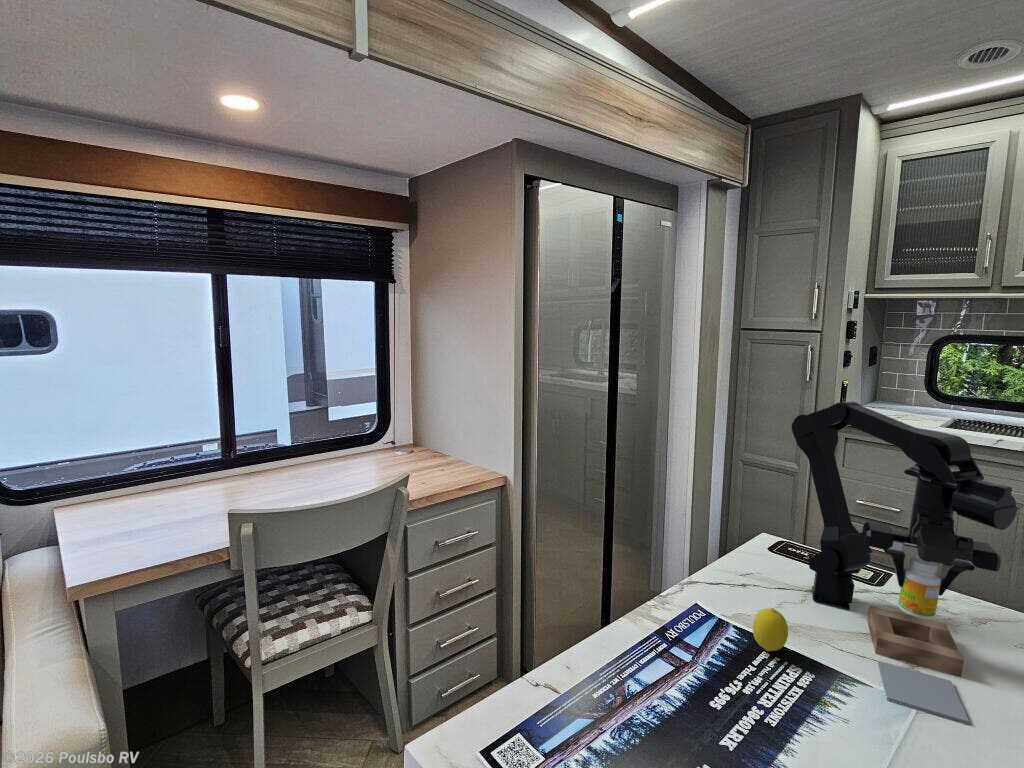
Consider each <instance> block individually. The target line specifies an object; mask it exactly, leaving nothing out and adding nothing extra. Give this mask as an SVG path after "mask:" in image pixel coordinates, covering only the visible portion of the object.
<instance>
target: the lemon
mask: <svg viewBox="0 0 1024 768" xmlns="http://www.w3.org/2000/svg"><path fill="white" fill-rule="evenodd" d="M752 635H753V638H754V640H755V641H756V643H757V644H758V645H759V646H760V647H761V648H762V649H764V650H765V651H766V652H769V653H770V652H776V651H779V650H781V649H782V648H783V647H784V646H785V645H786V644H787V641H788V637H789V627H788V622H787V620H786V618H785V617H784V615H783V614H782V613H781V612H779V610H776V609H775V608H773V607H770V608H763V609H761V610H760V611H758V612H757V613H756V615H755V617H754V619H753V623H752Z"/></svg>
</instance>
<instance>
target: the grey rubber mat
mask: <svg viewBox="0 0 1024 768" xmlns="http://www.w3.org/2000/svg"><path fill="white" fill-rule="evenodd" d="M877 664H878V669H879V673H880V677H881V682H882V685H883V690H884V689H885V690H884V693H885V692H886V694H885V697H886V696H887V698H886V700H887V699H889V700H891V701H890V702H892V701H894V702H893V703H895V702H897V703H896V704H898V703H901V704H904V705H903V706H905V705H906V707H908V706H910V707H909V708H911V707H913V709H915V710H918V711H922V712H925V713H928V714H932V715H935V716H939V717H941V718H946V719H948V720H952V721H954V722H955V721H956V722H959V723H962V724H965V725H969V723H970V721H969V718H968V716H967V714H966V712H965V710H964V707H963V704H962V702H961V700H960V698H959V696H958V693H957V691H956V689H955V685H953V681H952V680H950V679H946V678H942V677H939V676H935V675H932V674H927V673H924V672H920V671H918V670H914V669H910V668H908V667H903V666H899V665H896V664H892V663H888V662H885V661H880V660H878V661H877ZM901 704H900V705H901Z"/></svg>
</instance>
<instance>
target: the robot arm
mask: <svg viewBox="0 0 1024 768" xmlns="http://www.w3.org/2000/svg"><path fill="white" fill-rule="evenodd" d="M849 426H850V427H852V428H855V429H857V430H859V431H861V432H863V433H864V434H865V433H866V434H868V435H870V436H872V437H875V438H877V439H879V440H881V441H882V442H885V443H888V444H890V445H892V446H895V447H896V448H897V449H899V450H901V451H902V452H903V453H904V455H905V456H906V457H907V458H908V459H910V460H911V461H913V462H914V463H915V464H914V465H913V466H911V467H909V468H907V469H904V471H903V473H904V474H906V475H908V476H912V477H915V478H916V482H915V483H916V484H915V491H914V495H913V501H912V505H911V515H910V519H909V520H910V521H909V525H908V531H907V532H908V533H907V534H905V533H899V532H893V529H891V526H890V525H888V524H884V523H877V522H872V521H866V522H865V523H863V526H862V531H861V532H860V531H858V529H857V528H856V527H855V526H854V525H853V523H852V520H851V515H850V511H849V509H848V504H847V501H846V497H845V496H846V495H845V493H844V489H843V484H842V479H841V477H840V471H839V469H838V463H837V460H836V456H835V452H836V449H837V445H838V442H839V436H838V435H839V433H838V432H839V431H841V430H844V429H846V428H847V427H849ZM791 432H792V435H793V438H794V440H795V443H796V445H797V446H798V448H799V449H800V450H801V451H802V453H803V454H805V455H806V457H807V459H808V463H809V467H810V471H811V472H810V473H811V476H812V479H813V480H812V481H813V483H814V488H815V492H816V496H817V500H818V504H819V508H820V513H821V516H822V521H823V522H822V523H823V529H822V533H821V536H820V540H819V542H820V543H819V544H820V545H819V546H820V552H819V553H816V554H814V555H812V556H810V557H808V558H807V560H808V567H809V569H810V570H811V571H813V572H814V581H813V585H812V586H811V592H812V593H811V595H812V601H814V602H815V603H819V604H822V605H823V604H824V605H828V606H830V607H831V606H833V607H836V608H840V609H843V610H848V611H849V610H850V609H851V607H850V605H851V604H852V603H853V599H854V598H853V597H854V591H855V583H854V579H853V576H852V575H853V574H859V573H860V572H861V570H862V569H864V568H865V567H866V568H867V566H868V564H869V563H870V562H871V554H872V553H873V550H872V548H877V549H882V550H883V551H884V552H883V553H885V554H887V555H890V557H891V559H892V563H893V567H894V570H895V574H896V579H897V584H898V586H899V587H900V588H901V587H902V585H903V580H904V569H905V568H904V567H905V559H906V554H905V551H904V550H903V548H904V546H905V547H911V548H914V549H915V548H916V549H917V556H919V558H920V559H922V560H924V561H927V562H936V563H938V564H941V570H940V575H939V577H940V578H941V585H940V591H939V596H940V597H941V596H943V595H944V594H945V592H946V591H947V589H948V588H949V587H950V585H951V584H952V583H953V581H954V580H955V579H956V578H957V577H958V576H959V575H961V573H964V572H966V571H970V572H972V571H975V569H976V568H977V569H981V570H986V571H987V570H988V571H992V572H999V571H1000V567H1001V563H1002V561H1001V556H1000V555H999V554H998V552H997V551H996V550H995V549H994V547H992V546H991V545H990V543H988V542H981V541H976V540H973V538H972V537H967V536H962V535H957V534H956V533H955V530H954V526H955V520H954V516H955V513H956V514H957V516H959V517H961V518H964V519H967V520H970V521H972V522H976V523H979V524H982V525H984V526H988V527H991V528H993V529H996V530H999V531H1000V530H1001V531H1004V530H1006V529H1008V527H1010V526H1011V525H1012V523H1013V522H1014V520H1015V518H1016V516H1017V512H1018V506H1017V502H1016V498H1015V497H1014V495H1012V492H1013V488H1012V486H1008V485H1004V484H997V483H992V482H989V481H985V477H984V475H983V473H982V471H981V470H980V468H979V465H977V463H976V461H975V459H974V458H973V456H972V452H971V451H972V450H971V447H970V445H969V443H968V441H967V440H966V439H964V438H963V437H961V436H958V435H956V434H950V433H947V432H942V431H937V430H929V429H926V428H925V429H923V428H919V427H916V426H913V425H910V424H907V423H905V422H902V421H900V420H897V419H895V418H893V417H890V416H887V415H885V414H882V413H881V412H877V411H875V410H873V409H870V408H867V407H865V406H863V405H861V404H860V403H858V402H856V401H840V402H836V403H834V404H832V405H830V406H828V407H826V408H823V409H819V410H817V411H814V412H812V413H811V412H810V413H807V414H800V415H797V416H796V417H795V418H794V420H793V421H792V422H791ZM952 469H958V470H955V471H952Z"/></svg>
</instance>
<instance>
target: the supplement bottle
mask: <svg viewBox="0 0 1024 768" xmlns="http://www.w3.org/2000/svg"><path fill="white" fill-rule="evenodd" d="M909 565H910V566H906V567H905V568H904V580H903V585H902V587H900V591H899V598H898V604H897V605H898V608H899V609H900V611H902V612H904V614H907V615H912V616H914V617H917V618H921V619H928V620H932V619H933V618H935V617H936V614H937V608H938V602H939V598H940V597H939V596H940V595H939V591H940V585H941V578H940V575H939V574H938V571H939V565H940V563H936V562H927V561H924V560H922V559H920V558H919V556H918V554H917V555H912V556H910V560H909Z"/></svg>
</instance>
